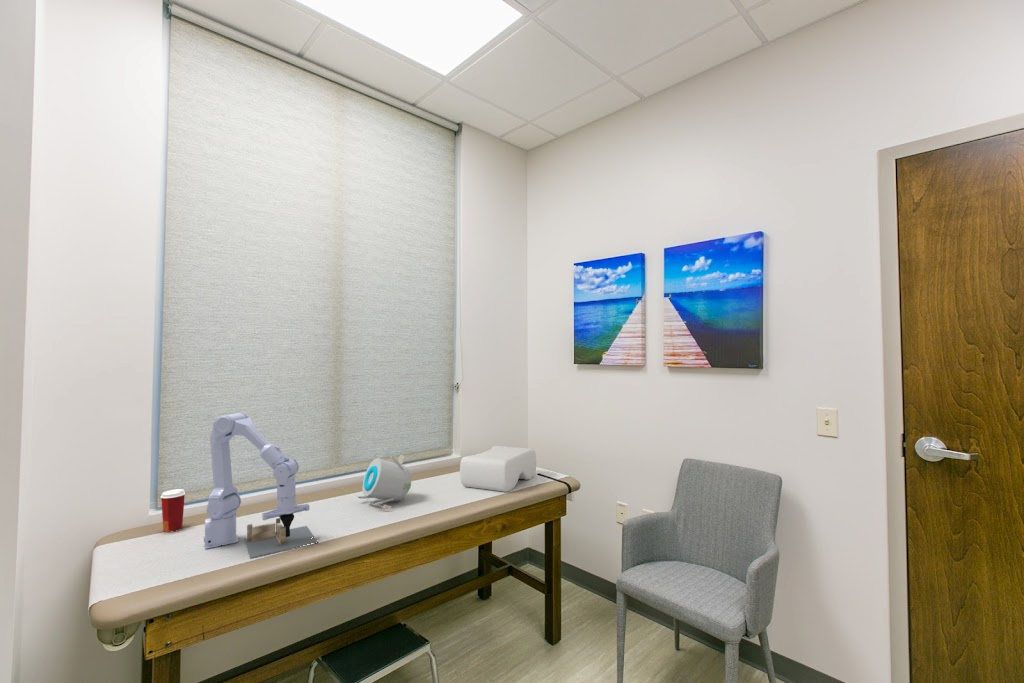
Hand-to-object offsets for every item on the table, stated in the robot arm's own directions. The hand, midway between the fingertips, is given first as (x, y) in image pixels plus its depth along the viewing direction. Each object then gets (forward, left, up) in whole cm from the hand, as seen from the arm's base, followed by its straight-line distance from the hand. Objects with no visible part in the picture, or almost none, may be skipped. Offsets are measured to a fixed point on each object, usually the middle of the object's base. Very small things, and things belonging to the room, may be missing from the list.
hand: (286, 536), depth 157 cm
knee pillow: (+99, +18, -2) cm, 101 cm away
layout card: (-2, +2, -2) cm, 3 cm away
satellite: (+43, +22, -2) cm, 48 cm away
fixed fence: (-7, +8, -2) cm, 10 cm away
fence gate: (-1, +3, -1) cm, 3 cm away
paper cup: (-33, +40, -2) cm, 51 cm away
